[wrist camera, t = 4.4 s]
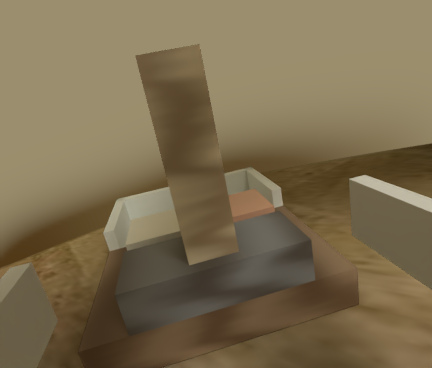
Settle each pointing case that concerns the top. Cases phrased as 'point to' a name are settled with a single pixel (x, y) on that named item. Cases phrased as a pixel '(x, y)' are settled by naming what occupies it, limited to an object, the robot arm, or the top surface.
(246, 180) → the tray
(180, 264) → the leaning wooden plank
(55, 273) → the top surface
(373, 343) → the top surface
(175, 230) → the tile cream
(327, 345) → the top surface
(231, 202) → the tile terracotta
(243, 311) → the board
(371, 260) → the top surface
